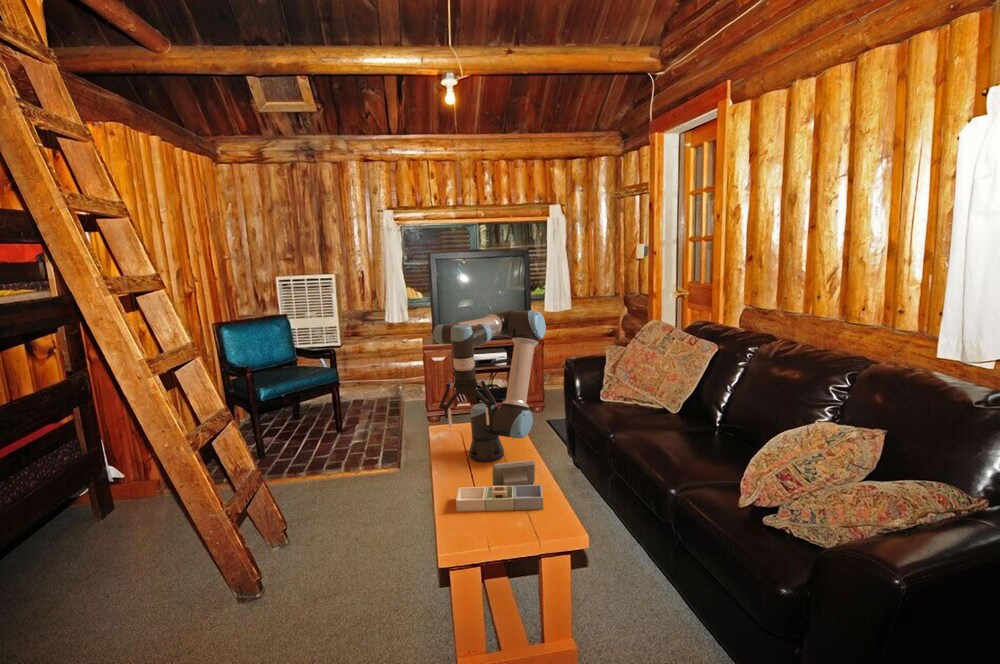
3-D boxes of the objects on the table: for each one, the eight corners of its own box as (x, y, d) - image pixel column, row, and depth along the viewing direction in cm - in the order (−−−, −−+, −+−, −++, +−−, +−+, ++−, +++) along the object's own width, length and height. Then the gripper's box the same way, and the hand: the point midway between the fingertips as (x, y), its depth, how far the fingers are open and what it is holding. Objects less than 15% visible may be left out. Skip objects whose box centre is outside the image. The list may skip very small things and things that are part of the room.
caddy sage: (487, 497, 191) (486, 486, 190) (514, 496, 190) (513, 485, 190) (485, 511, 181) (484, 499, 180) (514, 510, 181) (513, 498, 180)
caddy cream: (459, 498, 191) (459, 487, 190) (486, 497, 191) (486, 486, 190) (456, 512, 182) (455, 500, 181) (485, 511, 181) (484, 499, 180)
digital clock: (536, 482, 201) (535, 456, 199) (536, 493, 192) (535, 466, 190) (493, 483, 202) (492, 457, 200) (491, 494, 193) (490, 467, 191)
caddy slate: (515, 496, 190) (514, 485, 190) (542, 495, 190) (541, 484, 189) (514, 510, 181) (514, 498, 180) (543, 509, 180) (542, 497, 180)
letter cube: (493, 498, 188) (492, 485, 187) (507, 498, 188) (506, 485, 187) (492, 505, 183) (491, 492, 182) (506, 505, 183) (506, 492, 182)
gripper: (428, 373, 183) (433, 431, 187) (499, 368, 184) (503, 426, 188) (430, 368, 191) (435, 423, 195) (499, 363, 191) (503, 418, 195)
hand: (469, 425), depth 191 cm, fingers open, 13 cm apart
